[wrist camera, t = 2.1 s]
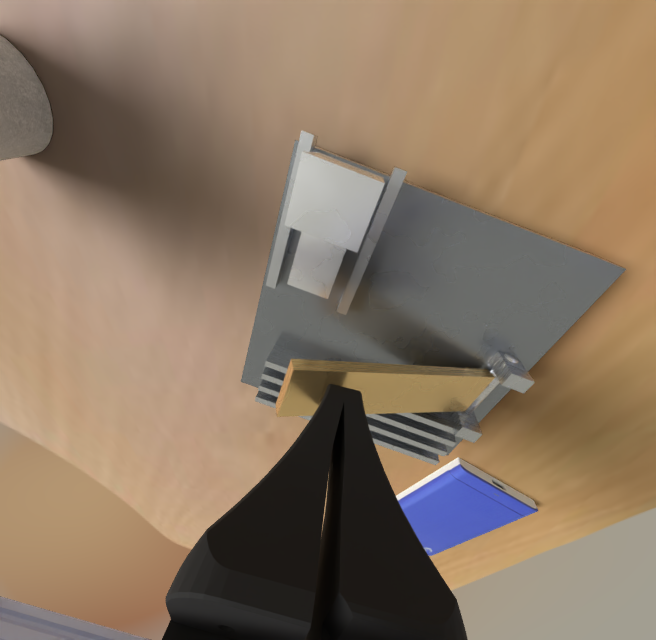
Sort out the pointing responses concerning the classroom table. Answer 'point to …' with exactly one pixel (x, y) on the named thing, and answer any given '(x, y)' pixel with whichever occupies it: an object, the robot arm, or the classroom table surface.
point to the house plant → (21, 106)
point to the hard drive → (460, 506)
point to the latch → (328, 217)
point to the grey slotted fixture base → (424, 303)
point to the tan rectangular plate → (381, 386)
